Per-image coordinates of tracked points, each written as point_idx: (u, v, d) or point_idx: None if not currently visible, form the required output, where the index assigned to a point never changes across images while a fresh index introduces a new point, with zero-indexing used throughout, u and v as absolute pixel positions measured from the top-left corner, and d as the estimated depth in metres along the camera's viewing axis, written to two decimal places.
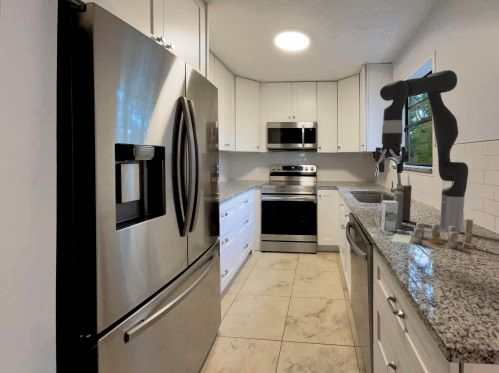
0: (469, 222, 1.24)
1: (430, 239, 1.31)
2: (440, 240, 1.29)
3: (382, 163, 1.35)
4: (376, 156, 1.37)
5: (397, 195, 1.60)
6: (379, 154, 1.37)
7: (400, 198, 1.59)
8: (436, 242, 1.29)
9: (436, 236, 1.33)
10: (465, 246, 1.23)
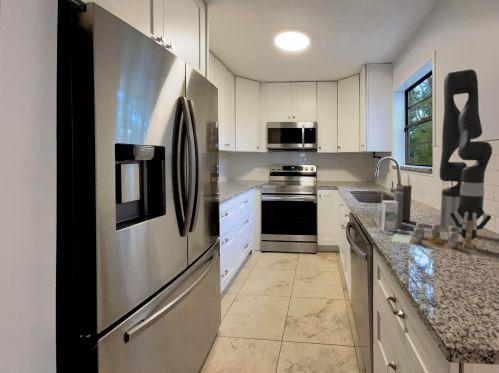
0: (469, 222, 1.24)
1: (430, 239, 1.31)
2: (440, 240, 1.29)
3: None
4: (456, 221, 1.26)
5: (397, 195, 1.60)
6: (456, 218, 1.27)
7: (400, 198, 1.59)
8: (436, 242, 1.29)
9: (436, 236, 1.33)
10: (465, 246, 1.23)
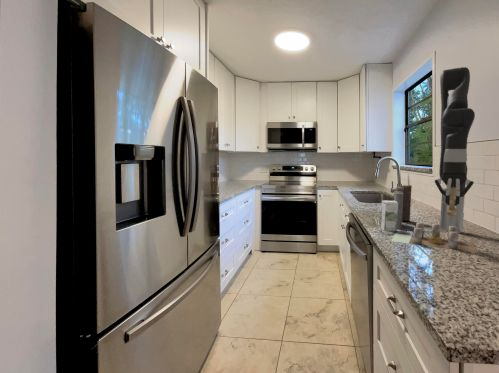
0: (452, 190, 1.25)
1: (430, 239, 1.31)
2: (440, 240, 1.29)
3: None
4: (440, 188, 1.28)
5: (397, 195, 1.60)
6: (440, 185, 1.29)
7: (400, 198, 1.59)
8: (436, 242, 1.29)
9: (436, 236, 1.33)
10: (448, 214, 1.26)
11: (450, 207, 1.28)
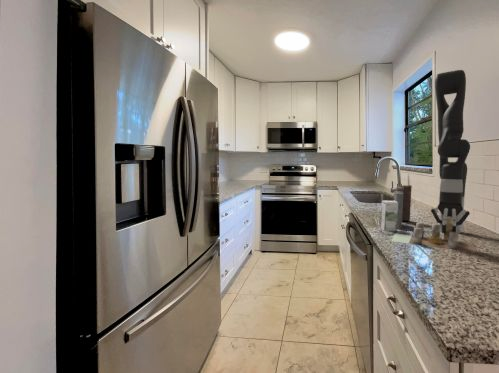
0: (448, 224, 1.24)
1: (430, 239, 1.31)
2: (440, 240, 1.29)
3: None
4: (437, 217, 1.28)
5: (397, 195, 1.60)
6: (437, 215, 1.29)
7: (400, 198, 1.59)
8: (436, 242, 1.29)
9: (436, 236, 1.33)
10: (445, 240, 1.29)
11: (447, 233, 1.29)
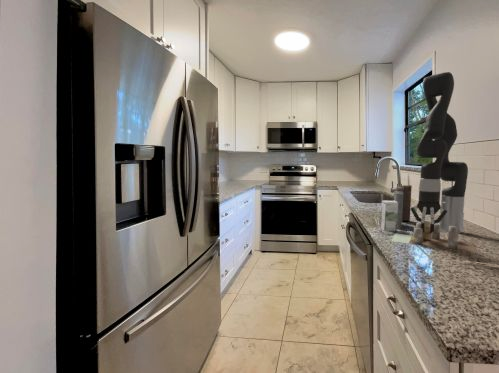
0: (426, 227, 1.27)
1: (412, 237, 1.34)
2: (422, 238, 1.32)
3: None
4: (416, 216, 1.33)
5: (397, 195, 1.60)
6: (416, 213, 1.34)
7: (400, 198, 1.59)
8: None
9: None
10: (424, 239, 1.34)
11: (426, 232, 1.33)
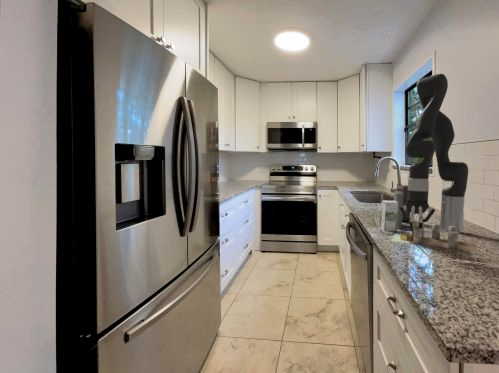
0: (414, 226, 1.29)
1: (402, 236, 1.35)
2: (411, 237, 1.34)
3: None
4: (405, 215, 1.35)
5: (397, 195, 1.60)
6: (405, 212, 1.36)
7: (400, 198, 1.59)
8: (407, 238, 1.34)
9: (406, 233, 1.38)
10: None
11: None
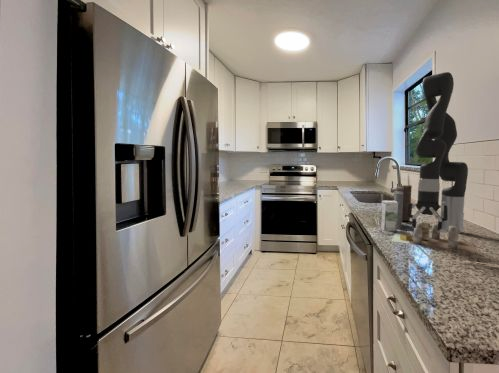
0: (423, 227, 1.27)
1: (401, 236, 1.35)
2: (410, 237, 1.34)
3: (415, 219, 1.34)
4: (409, 212, 1.34)
5: (397, 195, 1.60)
6: (411, 210, 1.35)
7: (400, 198, 1.59)
8: (407, 238, 1.34)
9: (406, 233, 1.38)
10: None
11: (423, 232, 1.33)
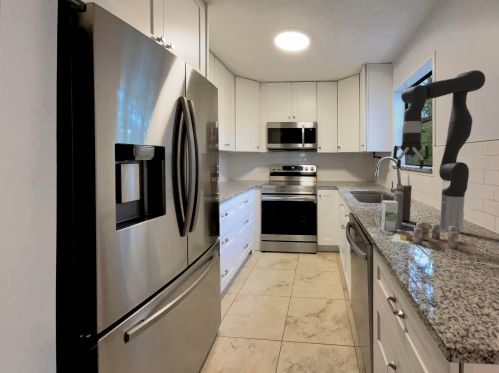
0: (423, 227, 1.27)
1: (401, 236, 1.35)
2: (410, 237, 1.34)
3: (400, 160, 1.48)
4: (395, 154, 1.48)
5: (397, 195, 1.60)
6: (396, 152, 1.48)
7: (400, 198, 1.59)
8: (407, 238, 1.34)
9: (406, 233, 1.38)
10: None
11: (423, 232, 1.33)
